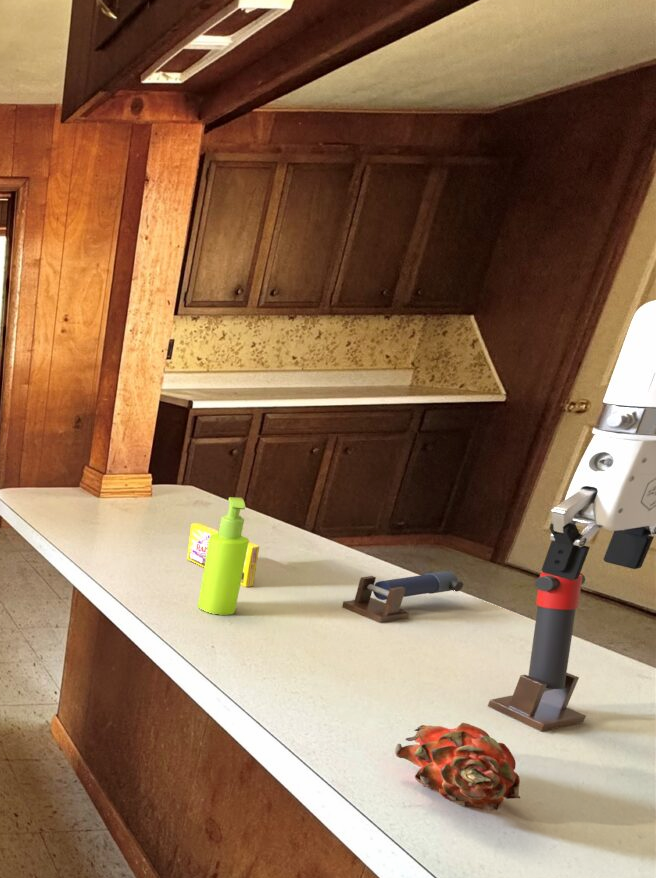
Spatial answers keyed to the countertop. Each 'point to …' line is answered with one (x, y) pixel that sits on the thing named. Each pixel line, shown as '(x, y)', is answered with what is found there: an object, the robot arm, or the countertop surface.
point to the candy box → (200, 546)
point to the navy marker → (418, 584)
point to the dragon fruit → (463, 765)
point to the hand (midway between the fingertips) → (590, 570)
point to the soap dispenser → (224, 563)
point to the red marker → (554, 628)
